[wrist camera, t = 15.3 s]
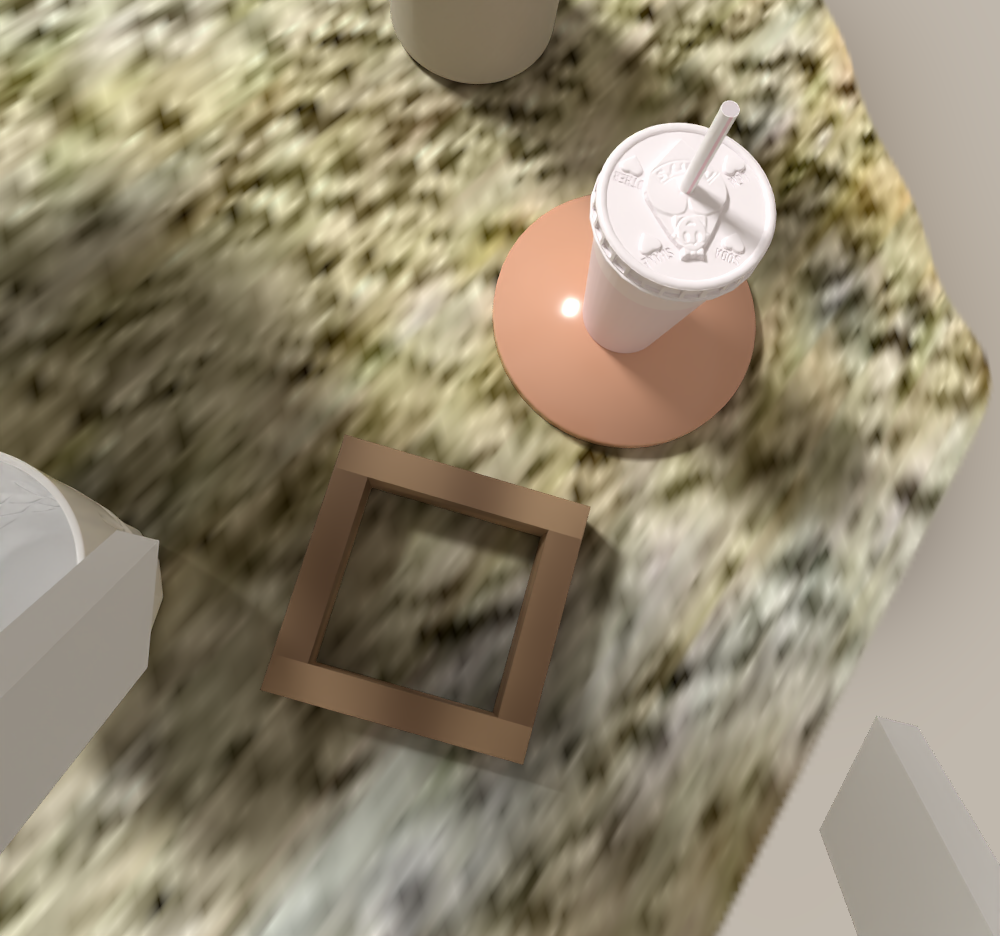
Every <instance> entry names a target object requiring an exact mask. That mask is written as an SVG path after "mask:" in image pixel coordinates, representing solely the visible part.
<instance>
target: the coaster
mask: <svg viewBox="0 0 1000 936" xmlns="http://www.w3.org/2000/svg"><path fill="white" fill-rule="evenodd" d="M590 200H591V195H587V196H584V197H580V198H577V199H574V200H570V201H568V202H566V203H564V204H562V205H559V206H557V207H555V208H554V209H552V210H550V211H549V212H547V213H546V214H544V215H542V216H541V217H540V218H539V219H537V220H536V221H535V222H534V223H533V224H531V225H530V226H529V227H528V228H527V229H526V230H525V232H524V233H523V234H522V235H521V236H520V237H519V238H518V240H517V241H516V243H515V244H514V246H513V247H512V248H511V250H510V251H509V253H508V255H507V257H506V260H505V262H504V264H503V266H502V269H501V272H500V275H499V278H498V281H497V285H496V290H495V296H494V301H493V316H492V322H493V332H494V339H495V344H496V348H497V352H498V355H499V358H500V360H501V363H502V365H503V368H504V370H505V372H506V374H507V376H508V378H509V379H510V381H511V383H512V385H513V386H514V387H515V389H516V390H517V392H518V393H519V394H520V396H521V397H522V398H523V399H524V401H525V402H526V403H527V404H528V405H529V406H530V407H531V408H532V409H533V410H534V411H535V412H536V413H537V414H539V415H540V416H541V417H542V418H544V419H545V420H546V421H547V422H549V423H550V424H552V425H553V426H555V427H557V428H558V429H560V430H561V431H563V432H565V433H567V434H569V435H571V436H574V437H576V438H578V439H581V440H584V441H587V442H590V443H593V444H597V445H602V446H608V447H614V448H642V447H650V446H655V445H659V444H664V443H667V442H670V441H672V440H675V439H678V438H680V437H682V436H684V435H686V434H688V433H690V432H692V431H694V430H695V429H697V428H698V427H700V426H701V425H702V424H704V423H705V422H707V421H708V420H709V419H711V418H712V417H713V416H714V415H715V414H716V413H717V412H719V411H720V410H721V409H722V408H723V407H724V406H725V405H726V404H727V402H728V401H729V400H730V399H731V397H732V396H733V395H734V394H735V392H736V391H737V389H738V387H739V385H740V384H741V382H742V380H743V379H744V376H745V374H746V371H747V369H748V367H749V364H750V361H751V357H752V353H753V349H754V342H755V333H756V326H755V310H754V304H753V298H752V295H751V292H750V288H749V285H748V282H747V280H745V281H744V282H743V283H741V284H740V285H739V286H738V287H737V288H735V289H734V290H733V291H731V292H728V293H726V294H724V295H721V296H719V297H717V298H715V299H712V300H706V301H705V302H704V303H702V304H701V305H700V306H699V307H697V308H696V309H695V310H694V311H692V312H691V313H690V314H689V315H687V316H686V317H685V318H683V319H682V320H681V321H680V322H678V323H677V324H676V325H675V326H673V327H672V328H671V329H670V330H668V331H667V332H666V333H664V334H663V335H662V336H661V337H659V338H658V339H657V340H656V341H654V342H653V343H652V344H651V345H649V346H648V347H646V348H645V349H643V350H640V351H638V352H634V353H617V352H613V351H610V350H608V349H606V348H604V347H602V346H601V345H599V344H598V343H597V342H596V341H595V340H594V339H593V338H592V337H591V336H590V334H589V333H588V331H587V329H586V327H585V324H584V321H583V303H584V296H585V290H586V283H587V276H588V270H589V263H590V257H591V250H592V243H593V237H594V235H593V231H592V227H591V222H590Z"/></svg>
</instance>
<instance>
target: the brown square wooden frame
mask: <svg viewBox="0 0 1000 936" xmlns="http://www.w3.org/2000/svg"><path fill="white" fill-rule="evenodd" d="M371 488H375V489H379V490H382V491H385V492H389V493H392V494H396V495H399V496H403V497H406V498H409V499H413V500H416V501H420V502H423V503H426V504H430V505H433V506H437V507H440V508H443V509H447V510H450V511H454V512H457V513H461V514H464V515H467V516H471V517H474V518H478V519H481V520H484V521H488V522H491V523H495V524H498V525H501V526H505V527H508V528H512V529H515V530H519V531H522V532H525V533H529V534H532V535H536V536H539V537H540V541H539V545H538V548H537V552H536V556H535V559H534V563H533V567H532V570H531V574H530V578H529V581H528V585H527V589H526V592H525V596H524V600H523V603H522V607H521V611H520V614H519V618H518V622H517V625H516V629H515V633H514V636H513V640H512V644H511V647H510V651H509V655H508V658H507V662H506V666H505V669H504V673H503V677H502V680H501V684H500V688H499V691H498V695H497V699H496V702H495V706H494V710H493V712H490V711H486V710H483V709H479V708H476V707H472V706H469V705H465V704H462V703H458V702H455V701H451V700H448V699H444V698H441V697H437V696H434V695H430V694H427V693H423V692H420V691H416V690H413V689H409V688H406V687H402V686H399V685H395V684H392V683H388V682H385V681H382V680H378V679H375V678H371V677H368V676H364V675H361V674H357V673H354V672H350V671H347V670H343V669H340V668H336V667H333V666H329V665H326V664H322V663H319V662H316V659H317V656H318V653H319V650H320V647H321V644H322V641H323V638H324V635H325V631H326V628H327V625H328V622H329V619H330V616H331V613H332V610H333V606H334V603H335V600H336V597H337V594H338V591H339V588H340V585H341V581H342V578H343V575H344V572H345V569H346V566H347V563H348V560H349V557H350V553H351V550H352V547H353V544H354V541H355V538H356V535H357V532H358V528H359V525H360V522H361V519H362V516H363V513H364V510H365V507H366V503H367V500H368V497H369V494H370V491H371ZM589 511H590V507H589V506H586V505H583V504H579V503H576V502H572V501H569V500H566V499H562V498H559V497H555V496H552V495H549V494H545V493H542V492H538V491H535V490H532V489H528V488H525V487H521V486H518V485H515V484H511V483H508V482H505V481H501V480H498V479H494V478H491V477H488V476H484V475H481V474H477V473H474V472H471V471H467V470H464V469H460V468H457V467H454V466H450V465H447V464H443V463H440V462H437V461H433V460H430V459H426V458H423V457H420V456H416V455H413V454H410V453H406V452H403V451H399V450H396V449H393V448H389V447H386V446H382V445H379V444H376V443H372V442H369V441H365V440H362V439H359V438H355V437H352V436H348V435H345V436H344V439H343V442H342V445H341V448H340V451H339V454H338V457H337V460H336V463H335V466H334V469H333V472H332V475H331V478H330V481H329V484H328V487H327V490H326V493H325V496H324V499H323V502H322V505H321V508H320V511H319V514H318V517H317V520H316V523H315V526H314V529H313V532H312V535H311V538H310V542H309V545H308V548H307V551H306V554H305V557H304V560H303V563H302V566H301V569H300V572H299V575H298V578H297V581H296V584H295V587H294V590H293V593H292V596H291V599H290V602H289V605H288V608H287V611H286V614H285V617H284V620H283V623H282V626H281V629H280V632H279V635H278V638H277V641H276V644H275V647H274V650H273V653H272V656H271V659H270V662H269V665H268V668H267V671H266V674H265V677H264V680H263V683H262V686H261V689H260V690H262V691H266V692H269V693H273V694H276V695H280V696H283V697H287V698H290V699H294V700H297V701H301V702H304V703H308V704H311V705H315V706H318V707H322V708H325V709H329V710H332V711H336V712H339V713H343V714H346V715H350V716H354V717H357V718H361V719H364V720H368V721H371V722H375V723H378V724H382V725H385V726H389V727H392V728H396V729H399V730H403V731H406V732H410V733H413V734H417V735H420V736H424V737H427V738H431V739H434V740H438V741H441V742H445V743H448V744H452V745H455V746H459V747H462V748H466V749H469V750H473V751H476V752H480V753H483V754H487V755H490V756H494V757H498V758H501V759H505V760H508V761H512V762H515V763H519V764H522V765H523V763H524V759H525V755H526V751H527V747H528V744H529V740H530V736H531V732H532V728H533V725H534V721H535V717H536V713H537V709H538V705H539V702H540V698H541V694H542V690H543V686H544V683H545V679H546V675H547V671H548V667H549V663H550V660H551V656H552V652H553V648H554V644H555V641H556V637H557V633H558V629H559V625H560V621H561V618H562V614H563V610H564V606H565V602H566V599H567V595H568V591H569V587H570V583H571V579H572V576H573V572H574V568H575V564H576V560H577V557H578V553H579V549H580V545H581V541H582V537H583V534H584V530H585V526H586V522H587V518H588V515H589Z"/></svg>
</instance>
